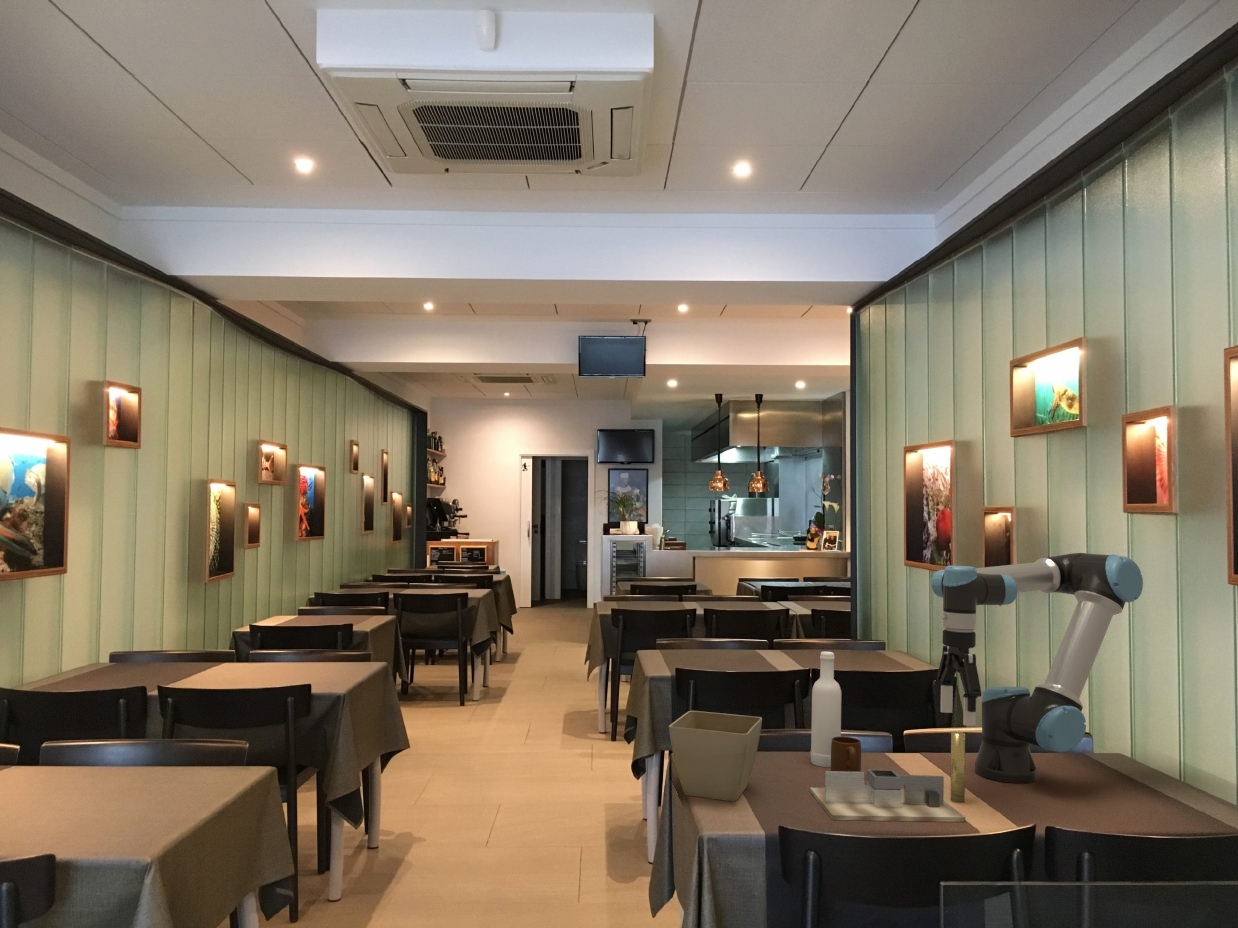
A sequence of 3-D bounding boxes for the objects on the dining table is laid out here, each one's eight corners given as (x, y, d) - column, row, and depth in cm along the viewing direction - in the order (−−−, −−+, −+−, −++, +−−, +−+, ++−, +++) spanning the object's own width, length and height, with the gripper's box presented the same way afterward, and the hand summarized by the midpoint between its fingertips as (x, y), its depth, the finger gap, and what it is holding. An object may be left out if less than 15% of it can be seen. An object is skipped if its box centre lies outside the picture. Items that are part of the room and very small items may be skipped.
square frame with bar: (938, 798, 214) (938, 771, 214) (947, 807, 208) (948, 778, 208) (866, 797, 214) (867, 769, 214) (874, 805, 208) (874, 776, 208)
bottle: (844, 762, 248) (846, 652, 249) (834, 769, 241) (836, 655, 242) (816, 757, 252) (818, 649, 253) (806, 763, 245) (808, 652, 247)
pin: (961, 798, 219) (962, 731, 220) (967, 802, 216) (967, 734, 217) (948, 798, 219) (949, 731, 220) (953, 802, 216) (954, 734, 217)
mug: (868, 786, 227) (869, 748, 227) (838, 785, 227) (838, 747, 227) (856, 772, 239) (857, 736, 239) (827, 771, 239) (828, 735, 239)
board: (931, 793, 222) (931, 789, 222) (965, 821, 202) (965, 817, 202) (810, 791, 221) (810, 787, 221) (832, 819, 201) (832, 815, 201)
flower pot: (665, 797, 214) (667, 725, 214) (687, 775, 232) (689, 709, 232) (745, 808, 207) (746, 734, 208) (761, 785, 225) (763, 717, 226)
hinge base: (930, 799, 214) (930, 769, 215) (940, 808, 208) (940, 777, 208) (821, 797, 213) (822, 767, 214) (828, 806, 207) (829, 775, 208)
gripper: (924, 622, 232) (922, 706, 231) (965, 636, 207) (963, 730, 206) (953, 623, 232) (952, 707, 231) (997, 637, 207) (996, 731, 206)
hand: (957, 718), depth 218 cm, fingers open, 13 cm apart
